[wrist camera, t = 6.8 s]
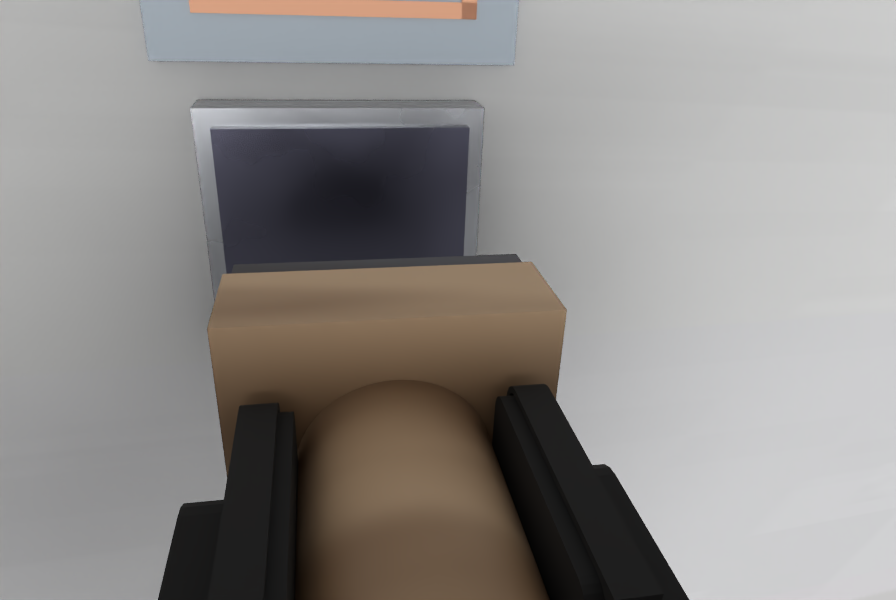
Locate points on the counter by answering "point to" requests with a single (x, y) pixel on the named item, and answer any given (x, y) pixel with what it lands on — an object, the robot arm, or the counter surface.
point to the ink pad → (337, 179)
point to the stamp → (393, 413)
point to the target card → (332, 31)
